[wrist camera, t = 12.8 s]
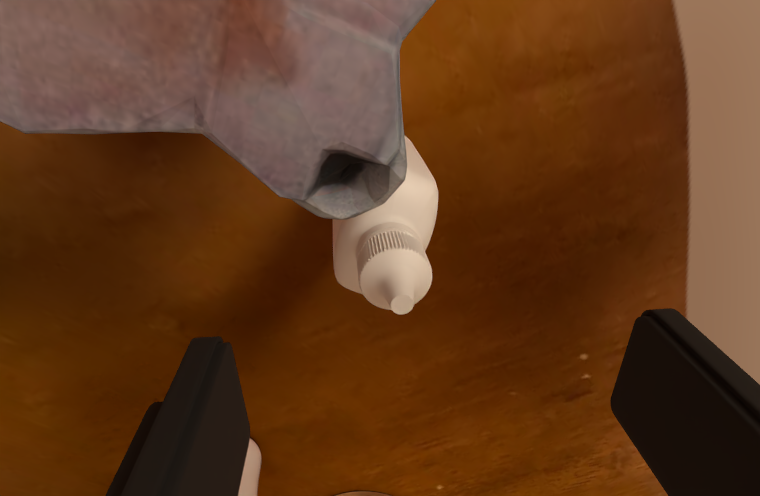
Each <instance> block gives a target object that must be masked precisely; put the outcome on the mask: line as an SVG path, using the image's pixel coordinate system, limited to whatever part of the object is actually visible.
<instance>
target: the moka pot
mask: <svg viewBox="0 0 760 496" xmlns="http://www.w3.org/2000/svg"><path fill="white" fill-rule="evenodd" d="M435 1H436V0H0V121H1V122H3V123H5V124H7V125H9V126H11V127H13V128H15V129H17V130H19V131H21V132H23V133H25V134H27V133H65V134H111V133H135V132H178V133H201V134H203V135H204V136H206V137H207V138H208V139H210V140H211V141H212V142H213V143H215V144H216V145H217V146H219V147H220V148H221V149H222V150H224V151H225V152H226V153H228V154H229V155H230V156H232V157H233V158H234V159H235V160H237V161H238V162H239V163H241V164H242V165H243V166H244V167H245V168H246V169H248V170H249V171H250V172H251V173H252V174H253V175H255V176H256V177H257V178H258V179H259V180H261V181H262V182H263V183H264V184H265V185H266V186H268V187H269V188H270V189H271V190H272V191H274V192H275V193H276V194H277V195H278V196H279V197H284V198H289V199H292V200H293V201H294V202H296V203H297V204H299V205H300V206H302V207H303V208H305V209H307V210H308V211H310V212H312V213H313V214H315V215H317V216H319V217H322V218H327V219H336V220H347V219H350V218H354V217H357V216H359V215H361V214H363V213H365V212H367V211H369V210H372V209H374V208H376V207H378V206H380V205H382V204H384V203H385V202H386V201H387V200H388V199H389V198H390V197H391V195H392V194H393V193H394V192H395V191H396V190H397V189H398V188H399V186H400V185H401V184H402V183H403V182H404V181H405V177H406V171H407V154H406V145H405V136H404V128H403V120H402V105H401V91H400V47H401V43H402V41H403V40H404V38H405V37H406V36H407V35H408V34H409V32H410V31H411V30H412V29H413V28H414V26H415V25H416V24H417V23H418V22H419V20H420V19H421V18H422V17H423V16H424V14H425V13H426V12H427V11H428V9H429V8H430V7H431V6H432V5H433V4H434V2H435Z"/></svg>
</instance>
